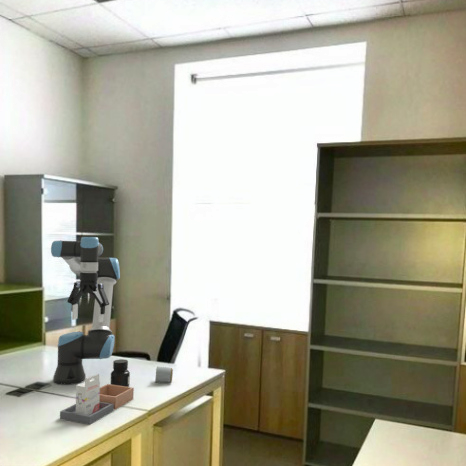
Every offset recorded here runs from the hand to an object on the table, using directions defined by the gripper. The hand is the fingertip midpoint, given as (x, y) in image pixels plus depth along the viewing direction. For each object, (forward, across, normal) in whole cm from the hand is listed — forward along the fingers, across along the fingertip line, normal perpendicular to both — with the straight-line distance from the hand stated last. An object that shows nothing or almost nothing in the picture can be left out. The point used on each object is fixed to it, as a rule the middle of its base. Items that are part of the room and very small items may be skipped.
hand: (87, 320), depth 197 cm
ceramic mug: (+35, +18, +37) cm, 54 cm away
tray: (+34, +12, -14) cm, 39 cm away
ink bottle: (+35, +3, +22) cm, 41 cm away
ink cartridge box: (+34, +12, -14) cm, 38 cm away
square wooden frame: (+34, +12, +2) cm, 36 cm away
